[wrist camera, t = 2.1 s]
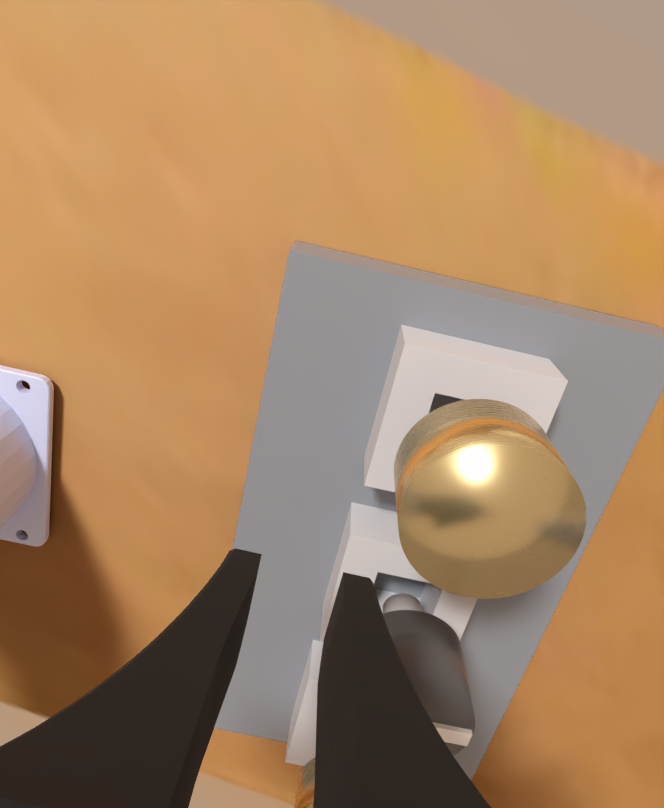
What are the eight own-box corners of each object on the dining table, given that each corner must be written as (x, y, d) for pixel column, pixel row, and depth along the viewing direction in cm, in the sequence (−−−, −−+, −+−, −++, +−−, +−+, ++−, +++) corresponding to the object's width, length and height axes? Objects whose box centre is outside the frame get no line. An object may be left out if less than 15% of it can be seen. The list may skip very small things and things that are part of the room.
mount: (209, 688, 29) (187, 766, 26) (296, 240, 20) (281, 261, 17) (465, 740, 30) (479, 824, 26) (657, 326, 21) (719, 364, 17)
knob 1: (292, 763, 25) (277, 890, 21) (314, 690, 23) (303, 812, 19) (395, 784, 25) (401, 913, 21) (424, 712, 23) (437, 838, 19)
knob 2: (375, 483, 19) (378, 578, 15) (412, 357, 17) (427, 425, 13) (506, 512, 19) (546, 614, 15) (556, 390, 18) (616, 467, 13)
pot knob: (341, 635, 22) (336, 757, 17) (365, 558, 20) (365, 670, 16) (436, 655, 22) (454, 781, 18) (466, 580, 21) (493, 697, 16)
